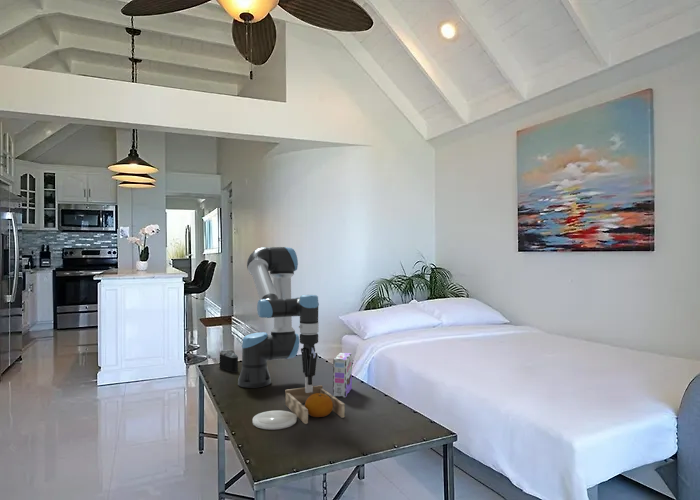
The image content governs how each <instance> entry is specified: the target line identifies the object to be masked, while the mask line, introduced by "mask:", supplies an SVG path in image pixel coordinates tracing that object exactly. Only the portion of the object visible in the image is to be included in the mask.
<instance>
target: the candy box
mask: <svg viewBox="0 0 700 500" xmlns="http://www.w3.org/2000/svg"><path fill="white" fill-rule="evenodd" d="M352 357H353V353H351V352H339V353H338V354H337V355H336V356H335V357H334V358H333V360H332V364H333V365H332V367H333V368H332V371H333V373H332V395H333V396H334V397H335V398H346V397H347V396H348V394H349V393H350V392H351V390H352V389H353V384H352V383H353V382H352V381H353V377H352V375H353V373H352V371H353V369H352V368H353V367H352V366H353V358H352Z"/></svg>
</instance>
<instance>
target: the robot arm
mask: <svg viewBox="0 0 700 500" xmlns="http://www.w3.org/2000/svg"><path fill="white" fill-rule="evenodd" d="M298 261H299V260H298V255H297V252H296V250H295V249H294V248H293V247H286V246H276V247H275V246H272V247H271V246H262V247H258V248H257V249H256V248H255V250H253V251H252V252H251V253H250V254H249V255H248V258H247V261H246V268H247V271H248V273H249V274H250V275H251V276H252V280H253V283H254V285H255V286H254V287H255V289H256V292H257V295H258V298H259V300H258V301H257V304H256V311H257V315H258V317H259V318H263V319H265V318H266V319H271V318H273V328H272V329H271V330H270V334H269V335H268V332H265V331H264V332H263V331H261V332H254V333H250V334H247V335H246V334H245V336H243V338H242V342H241V343H242V344H241V348H242V349H241V370H240V372H239V373H240V374H239V377H238V380H237V385H238V386H239V387H241V388H246V389H247V388H248V389H249V388H250V389H255V388H263V387H266V386H269V385H270V384H271V383H272V381H271V379H272V377H271V375H270V371H269V368H268V361H274V360H276V361H277V360H288V359H293V358H295V357H296V356H297V355H298V352H299V349H300V352H301V363H302V364H301V365H302V373H303V374H304V387H305V392H306V393H310V392H313V386H314V381H313V380H314V379H313V377H314V376H316V368H317V359H318V352H316V348H315V347H316V346H315V345H316V344H318V343H319V334H318V333H319V305H320V304H319V296H318V295H316V294H302V295H300V297H295V298H292V277H293V276H294V275H295V272H296V271H297V270H298V265H299V262H298ZM293 317H299V326H298V328H299V333H300V334H298V333H296V329H295V328H294V327H292V323H293V322H292V321H293ZM300 344H301V345H303V347H302V348H300Z"/></svg>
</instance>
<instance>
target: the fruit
mask: <svg viewBox="0 0 700 500" xmlns="http://www.w3.org/2000/svg"><path fill="white" fill-rule="evenodd" d="M304 406H305V407H306V408H307V409H308V416H310V417H313V418H322V417H327V416H328V415H330V414H331V413H332V412H333V411H332V409H333V402H332V400H331V399H330V397H329V396H327V395H326V394H322V393H315V394H312V395H310V396H309V397H308V399H307V400H306V402H305V403H304Z"/></svg>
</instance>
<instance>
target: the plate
mask: <svg viewBox="0 0 700 500" xmlns="http://www.w3.org/2000/svg"><path fill="white" fill-rule="evenodd" d="M297 421H298V417H297V416H296V415H295V414H294V413H293V412H292V411H288V410H281V409H280V410H279V409H278V410H267V411H263V412H259V413H257V414H255V415H254V416H253V417H252V425H253V426H254V427H256V428H258V429H261V430H270V431H271V430H282V429H286V428H287V429H288V428H290V427H292V426H294V425H295V424H296V423H297Z"/></svg>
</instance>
